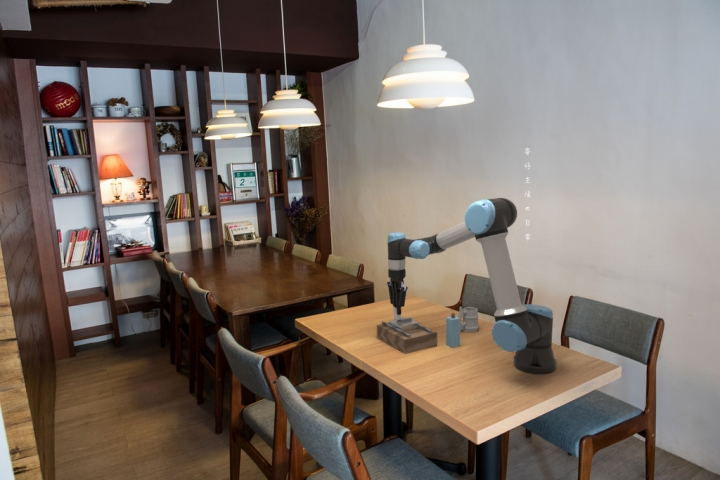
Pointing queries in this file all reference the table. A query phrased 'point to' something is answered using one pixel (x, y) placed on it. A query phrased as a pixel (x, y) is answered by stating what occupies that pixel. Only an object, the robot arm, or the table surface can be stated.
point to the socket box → (407, 337)
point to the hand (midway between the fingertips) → (397, 321)
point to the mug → (469, 319)
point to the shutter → (404, 324)
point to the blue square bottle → (452, 331)
